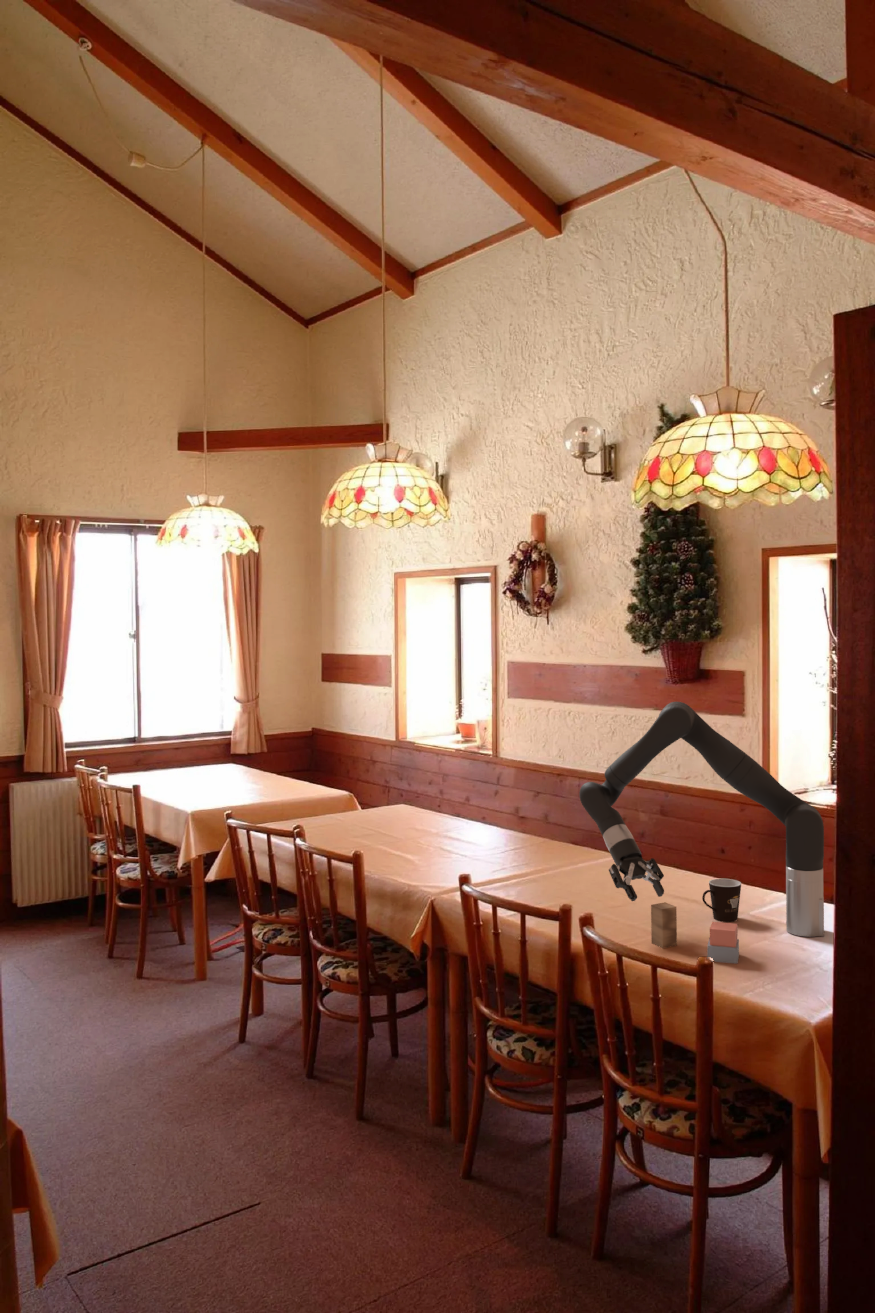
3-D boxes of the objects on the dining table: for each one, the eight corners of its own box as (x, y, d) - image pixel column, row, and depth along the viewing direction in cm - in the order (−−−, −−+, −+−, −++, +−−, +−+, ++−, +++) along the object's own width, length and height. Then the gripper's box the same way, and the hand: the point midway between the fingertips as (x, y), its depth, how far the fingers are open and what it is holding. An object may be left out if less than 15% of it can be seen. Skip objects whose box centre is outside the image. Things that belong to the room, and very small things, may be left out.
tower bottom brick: (738, 955, 250) (738, 939, 250) (737, 964, 244) (737, 948, 244) (709, 952, 253) (709, 937, 253) (707, 962, 246) (707, 945, 246)
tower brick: (737, 940, 250) (737, 923, 250) (735, 947, 244) (735, 931, 244) (712, 937, 252) (712, 921, 252) (709, 945, 246) (709, 929, 246)
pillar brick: (665, 940, 262) (665, 902, 262) (676, 945, 258) (676, 906, 258) (651, 943, 260) (651, 904, 260) (662, 948, 256) (662, 909, 256)
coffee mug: (735, 913, 284) (735, 878, 284) (746, 922, 275) (745, 886, 275) (694, 914, 284) (694, 879, 283) (703, 924, 275) (703, 887, 275)
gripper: (605, 840, 269) (631, 893, 259) (649, 834, 275) (676, 886, 265) (594, 856, 274) (620, 909, 264) (637, 850, 280) (664, 901, 270)
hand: (648, 897), depth 264 cm, fingers open, 8 cm apart
